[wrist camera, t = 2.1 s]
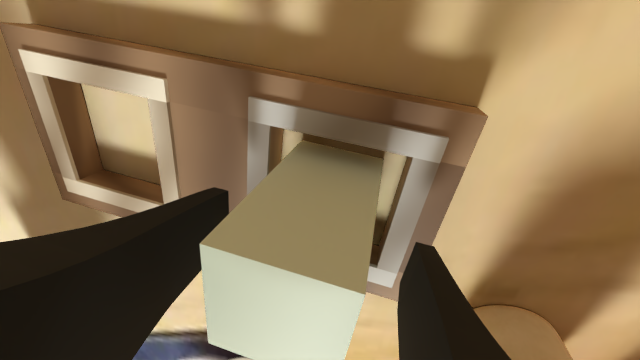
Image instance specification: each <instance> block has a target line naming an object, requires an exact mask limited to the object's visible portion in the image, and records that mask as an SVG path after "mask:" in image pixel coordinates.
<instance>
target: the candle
mask: <svg viewBox="0 0 640 360" xmlns="http://www.w3.org/2000/svg"><path fill="white" fill-rule="evenodd" d="M473 310H474V311H475V313H476V314H477V315H478V317H479V318H480V319H481V321H482V322H483V324H484V325H485V326H486V328H487V329H488V331H489V332H490V333H491V335H492V336H493V337H494V338H495V340H496V341H497V342H498V344H499V345H500V346H501V347H502V349H503V350H504V351H505V352H506V353H507V355H508V356H509V357H510V358H511V360H573V359H572V357H571V356H570V354H569V352H568V350H567V348H566V347H565V345H564V343H563V341H562V340H561V338H560V336H559V335H558V333H557V332H556V330H555V329H554V328H553V327H552V325H551V324H550V323H549V322H548V321H546V320H545V319H544V318H543V317H541V316H539V315H538V314H535V313H533V312H531V311H528V310H526V309H522V308H518V307H513V306H505V305H491V306H483V307H478V308H474V309H473Z"/></svg>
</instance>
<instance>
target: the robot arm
mask: <svg viewBox="0 0 640 360" xmlns="http://www.w3.org/2000/svg"><path fill="white" fill-rule="evenodd" d="M228 214H229V191H227V190H224V189H220V188H216V187H213V188H209V189H206V190H203V191H200V192H197V193H194V194H191V195H188V196H186V197H183V198H180V199H177V200H174V201H172V202H169V203H166V204H163V205H160V206H157V207H154V208H151V209H148V210H145V211H142V212H139V213H136V214H132V215H129V216H126V217H123V218H119V219H116V220H112V221H108V222H104V223H100V224H96V225H92V226H88V227H84V228H79V229H74V230H69V231H64V232H59V233H54V234H49V235H44V236H38V237H32V238H26V239H20V240H13V241H6V242H0V360H132V359H133V357H134V356H135V355H136V353H137V352H138V350H139V349H140V347H141V346H142V344H143V343H144V341H145V340H146V338H147V337H148V336H149V334H150V333H151V331H152V330H153V329H154V327H155V326H156V324H157V323H158V322H159V320H160V319H161V317H162V316H163V315H164V313H165V312H166V311H167V309H168V308H169V307H170V306H171V304H172V303H173V302H174V301H175V299H176V298H177V297H178V296H179V295H180V294H181V293H182V291H183V290H184V289H185V288H186V287H187V286H188V285H189V283H190V282H191V281H192V280H193V279H194V278H195V277H196V275H197V274H198V273H199V272H200V271H201V270H202V266H201V255H200V243H201V242H202V241H203V240H204V239H205V238H206V237H207V236H208V235H209V234H210V233H211V232H212V231H213V230H214V229H215V228H216V226H217V225H218V224H219V223H220V222H221V221H222V220H223V219H224V218H225V217H226V216H227V215H228ZM398 338H399V360H511V358H510V357H509V356H508V355H507V353H506V352H505V351H504V350H503V349H502V347H501V346H500V345H499V344H498V342H497V341H496V340H495V338H494V337H493V336H492V335H491V333H490V332H489V331H488V329H487V328H486V326H485V325H484V324H483V322H482V321H481V319H480V318H479V317H478V315H477V314H476V313H475V311H474V310H473V308H472V307H471V305H470V304H469V302H468V301H467V299H466V298H465V296H464V295H463V293H462V292H461V290H460V289H459V287H458V285H457V284H456V282H455V281H454V279H453V277H452V276H451V274H450V272H449V271H448V269H447V267H446V266H445V264H444V262H443V261H442V259H441V257H440V256H439V254H438V252H437V251H436V249H435V247H434V246H430V245H426V244H423V243H419V242H416V243H415V246H414V248H413V251H412V253H411V256H410V258H409V261H408V263H407V266H406V268H405V271H404V273H403V276H402V278H401V280H400V285H399V296H398Z"/></svg>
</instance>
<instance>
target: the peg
mask: <svg viewBox="0 0 640 360" xmlns="http://www.w3.org/2000/svg"><path fill="white" fill-rule="evenodd" d="M382 166H383V158H378V157H374V156H369V155H365V154H361V153H356V152H352V151H347V150H343V149H339V148H334V147H330V146H325V145H321V144H317V143H312V142H308V141H304V140H302V141H301V142H300V143H299V144H298V145H297V146H296V147H295V148H294V149H293V150H292V151H291V152H290V153H289V154H288V155H287V156H286V157H285V158H284V159H283V160H282V161H281V162H280V163H279V164H278V165H277V166H276V167H275V168H274V169H273V170H272V171H271V172H270V173H269V174H268V175H267V176H266V177H265V178H264V179H263V180H262V181H261V182H260V183H259V184H258V185H257V186H256V187H255V188H254V189H253V190H252V191H251V192H250V193H249V194H248V195H247V196H246V197H245V198H244V199H243V200H242V201H241V202H240V203H239V204H238V205H237V206H236V207H235V208H234V209H233V210H232V211H231V212H230V213H229V214H228V215H227V216H226V217H225V218H224V219H223V220H222V221H221V222H220V223H219V224H218V225H217V226H216V228H215V229H214V230H213V231H212V232H211V233H210V234H209V235H208V236H207V237H206V238H205V239H204V240H203V241H202V242H201V243H200V255H201V266H202V277H203V289H204V300H205V311H206V322H207V333H208V343H210V344H213V345H215V346H218V347H221V348H223V349H226V350H229V351H231V352H234V353H237V354H240V355H242V356H245V357H248V358H250V359H253V360H344V359H345V356H346V353H347V350H348V347H349V344H350V341H351V338H352V335H353V332H354V328H355V325H356V322H357V319H358V316H359V313H360V310H361V307H362V304H363V301H364V298H365V294H366V286H367V279H368V271H369V264H370V256H371V249H372V241H373V234H374V226H375V219H376V211H377V204H378V196H379V189H380V181H381V174H382Z"/></svg>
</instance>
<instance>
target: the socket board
mask: <svg viewBox="0 0 640 360" xmlns="http://www.w3.org/2000/svg"><path fill="white" fill-rule="evenodd" d="M0 28H1V31H2V34H3V37H4V39H5V42H6V45H7V48H8V50H9V53H10V56H11V59H12V61H13V64H14V67H15V70H16V72H17V75H18V78H19V81H20V83H21V86H22V89H23V92H24V94H25V97H26V100H27V103H28V105H29V108H30V111H31V114H32V116H33V119H34V122H35V124H36V127H37V130H38V133H39V135H40V138H41V141H42V144H43V146H44V149H45V152H46V155H47V157H48V160H49V163H50V166H51V168H52V171H53V174H54V177H55V179H56V182H57V185H58V188H59V190H60V193H61V196H62V199H64V200H67V201H70V202H74V203H77V204H80V205H83V206H87V207H90V208H93V209H97V210H100V211H103V212H106V213H110V214H113V215H116V216H119V217H126V216H129V215H132V214H136V213H139V212H142V211H145V210H148V209H151V208H154V207H157V206H160V205H163V204H166V203H169V202H172V201H174V200H177V199H180V198H183V197H186V196H188V195H191V194H194V193H197V192H200V191H203V190H206V189H209V188H213V187H216V188H220V189H224V190H227V191H229V213H230V212H231V211H232V210H233V209H234V208H235V207H236V206H237V205H238V204H239V203H240V202H241V201H242V200H243V199H244V198H245V197H246V196H247V195H248V194H249V193H250V192H251V191H252V190H253V189H254V188H255V187H256V186H257V185H258V184H259V183H260V182H261V181H262V180H263V179H264V178H265V177H266V176H267V175H268V174H269V173H270V172H271V171H272V170H273V169H274V168H275V167H276V166H277V165H278V164H279V163H280V162H281V151H282V138H283V129H287V130H292V131H296V132H301V133H305V134H310V135H314V136H319V137H323V138H328V139H332V140H337V141H341V142H346V143H350V144H355V145H359V146H364V147H368V148H373V149H377V150H382V151H386V152H391V153H395V154H400V155H404V156H408V157H407V160H406V163H405V166H404V169H403V172H402V175H401V179H400V182H399V185H398V188H397V191H396V194H395V197H394V200H393V204H392V207H391V210H390V213H389V216H388V219H387V222H386V226H385V229H384V232H383V235H382V238H381V241H380V244H379V246H377V245H373V244H372V249H371V256H370V264H369V271H368V279H367V286H366V292H368V293H372V294H375V295H378V296H381V297H385V298H388V299H391V300H394V301H398V296H399V285H400V280H401V278H402V276H403V273H404V271H405V268H406V266H407V263H408V261H409V258H410V256H411V253H412V251H413V248H414V246H415V243H416V242H419V243H423V244H426V245H430V246H432V244H433V241H434V239H435V237H436V234H437V232H438V230H439V228H440V225H441V223H442V221H443V218H444V216H445V214H446V212H447V209H448V207H449V205H450V202H451V200H452V198H453V196H454V193H455V191H456V189H457V187H458V184H459V182H460V180H461V177H462V175H463V173H464V171H465V168H466V166H467V164H468V161H469V159H470V157H471V155H472V152H473V150H474V148H475V145H476V143H477V141H478V139H479V136H480V134H481V132H482V129H483V127H484V125H485V123H486V120H487V118H488V116H487V115H486V114H485V113H483V112H482V111H481V110H480V109H479V108H477V107H472V106H466V105H461V104H456V103H450V102H445V101H440V100H435V99H429V98H424V97H419V96H413V95H408V94H403V93H397V92H392V91H387V90H381V89H376V88H371V87H365V86H360V85H355V84H350V83H344V82H339V81H334V80H328V79H323V78H318V77H312V76H307V75H302V74H296V73H291V72H286V71H280V70H275V69H270V68H265V67H259V66H254V65H249V64H243V63H238V62H233V61H227V60H222V59H217V58H211V57H206V56H201V55H195V54H190V53H185V52H180V51H174V50H169V49H164V48H158V47H153V46H148V45H142V44H137V43H132V42H126V41H121V40H116V39H110V38H105V37H100V36H94V35H89V34H84V33H79V32H73V31H68V30H63V29H57V28H52V27H47V26H41V25H36V24H20V23H0ZM80 83H81V84H85V85H90V86H94V87H99V88H103V89H108V90H112V91H117V92H121V93H126V94H130V95H135V96H139V97H144V98H147V99H148V105H149V112H150V118H151V125H152V131H153V137H154V144H155V150H156V156H157V163H158V169H159V175H160V182H161V186H160V185H157V184H153V183H150V182H146V181H142V180H139V179H135V178H132V177H128V176H124V175H121V174H117V173H114V172H110V171H106V170H103V168H102V164H101V160H100V156H99V153H98V149H97V145H96V141H95V138H94V134H93V130H92V126H91V123H90V119H89V115H88V111H87V107H86V104H85V100H84V96H83V92H82V89H81V85H80Z"/></svg>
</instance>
